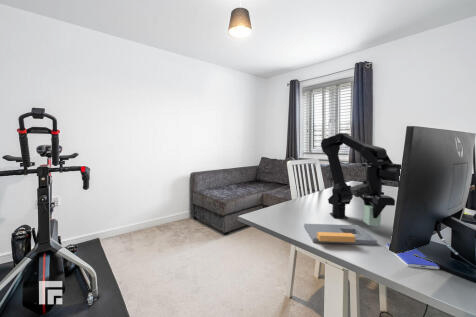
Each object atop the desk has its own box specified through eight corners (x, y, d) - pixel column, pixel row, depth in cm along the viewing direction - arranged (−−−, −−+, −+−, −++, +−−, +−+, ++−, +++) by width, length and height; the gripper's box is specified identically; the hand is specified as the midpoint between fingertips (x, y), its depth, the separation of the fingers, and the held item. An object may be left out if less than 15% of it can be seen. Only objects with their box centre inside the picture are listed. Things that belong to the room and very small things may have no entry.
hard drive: (386, 243, 75) (407, 262, 63) (412, 245, 74) (439, 265, 62) (385, 247, 75) (407, 268, 63) (412, 249, 74) (439, 271, 62)
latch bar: (317, 237, 78) (317, 232, 78) (351, 238, 77) (351, 233, 77) (319, 241, 75) (319, 235, 75) (355, 242, 74) (355, 236, 74)
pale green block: (363, 221, 91) (364, 205, 90) (374, 221, 91) (375, 205, 90) (368, 225, 87) (369, 208, 86) (380, 225, 86) (381, 208, 86)
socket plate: (304, 227, 92) (304, 223, 92) (357, 228, 90) (357, 225, 90) (313, 242, 78) (313, 238, 78) (376, 244, 76) (376, 240, 76)
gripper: (343, 174, 97) (342, 208, 98) (365, 182, 78) (363, 224, 80) (369, 175, 96) (367, 209, 98) (397, 183, 78) (394, 225, 79)
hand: (371, 216), depth 88 cm, fingers closed on pale green block, 4 cm apart
